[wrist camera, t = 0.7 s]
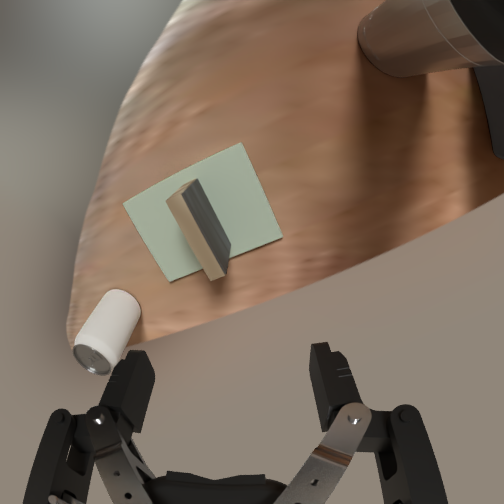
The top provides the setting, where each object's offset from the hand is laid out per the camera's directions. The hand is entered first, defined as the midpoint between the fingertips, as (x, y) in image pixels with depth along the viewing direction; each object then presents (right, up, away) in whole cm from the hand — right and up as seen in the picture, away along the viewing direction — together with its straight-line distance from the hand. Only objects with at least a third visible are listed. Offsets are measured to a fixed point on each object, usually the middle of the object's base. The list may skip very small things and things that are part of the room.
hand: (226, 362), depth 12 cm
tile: (-4, +9, +19) cm, 22 cm away
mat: (-5, +9, +20) cm, 22 cm away
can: (-19, -3, +26) cm, 32 cm away
